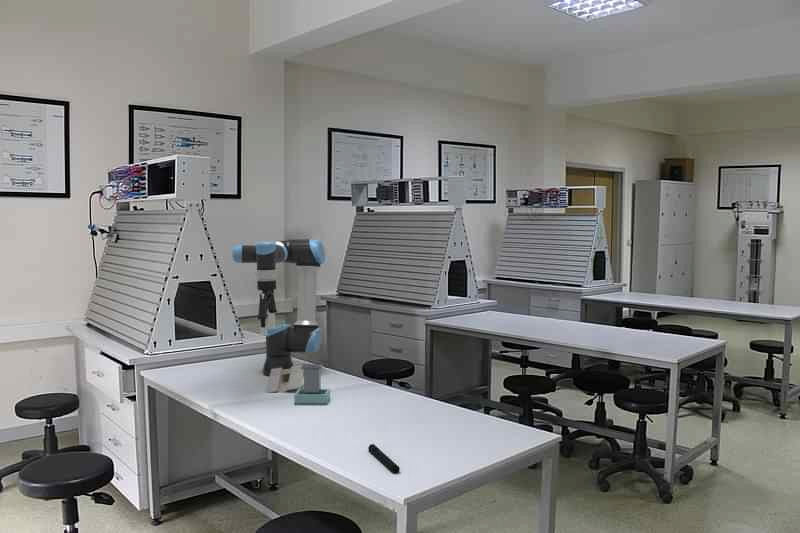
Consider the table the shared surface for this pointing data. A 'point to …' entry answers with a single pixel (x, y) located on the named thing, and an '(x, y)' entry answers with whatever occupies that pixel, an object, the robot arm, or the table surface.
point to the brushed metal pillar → (312, 378)
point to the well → (312, 398)
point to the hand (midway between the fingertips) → (268, 331)
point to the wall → (285, 379)
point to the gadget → (384, 458)
